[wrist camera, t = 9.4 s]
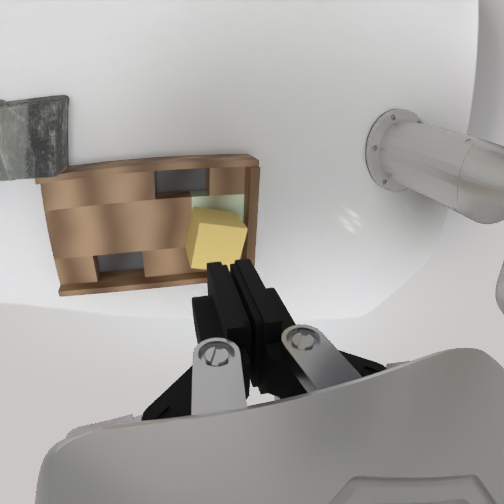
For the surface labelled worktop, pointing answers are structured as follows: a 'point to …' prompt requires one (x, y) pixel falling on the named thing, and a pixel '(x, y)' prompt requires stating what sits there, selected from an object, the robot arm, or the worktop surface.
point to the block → (214, 237)
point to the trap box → (141, 218)
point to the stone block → (33, 137)
